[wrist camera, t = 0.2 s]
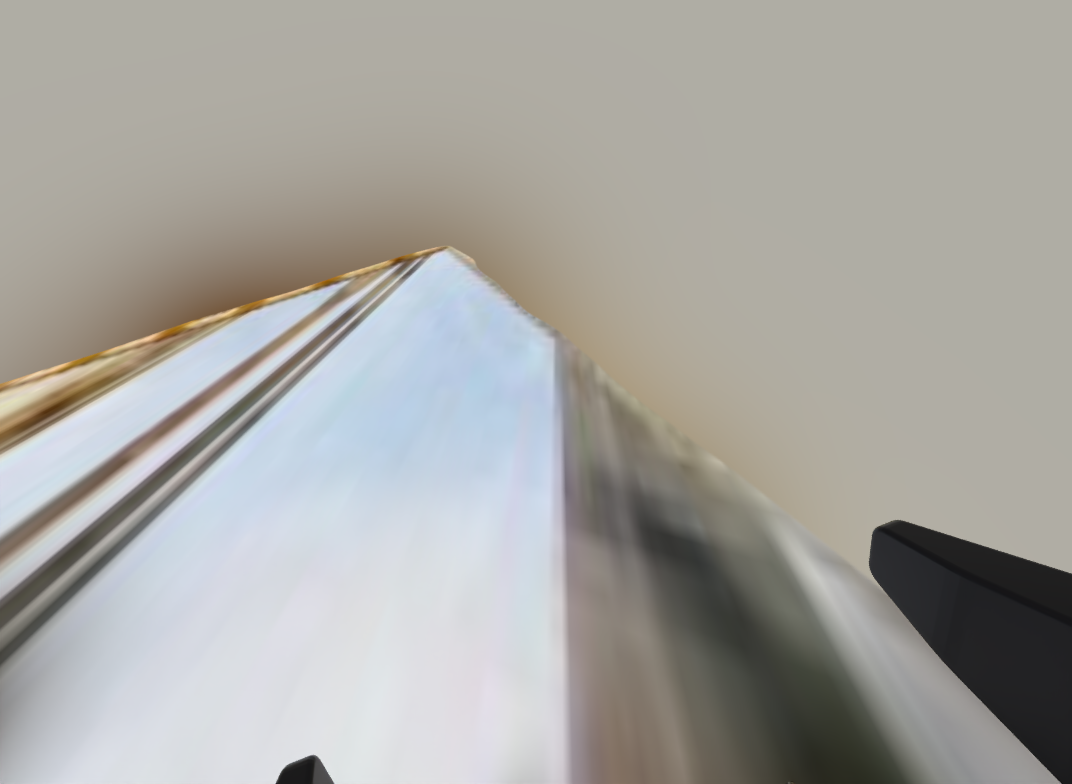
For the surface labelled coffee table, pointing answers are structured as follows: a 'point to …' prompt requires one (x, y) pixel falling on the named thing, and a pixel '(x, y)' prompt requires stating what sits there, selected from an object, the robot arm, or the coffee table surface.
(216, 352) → the coffee table surface
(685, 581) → the coffee table surface
